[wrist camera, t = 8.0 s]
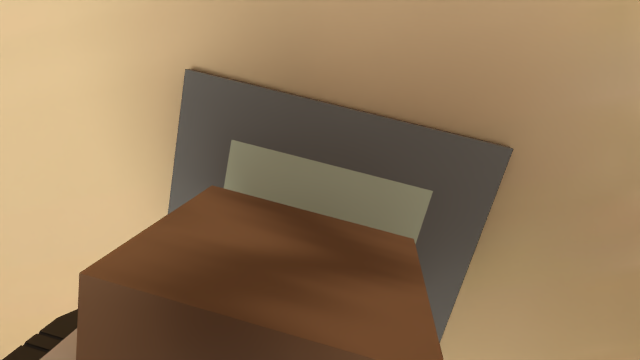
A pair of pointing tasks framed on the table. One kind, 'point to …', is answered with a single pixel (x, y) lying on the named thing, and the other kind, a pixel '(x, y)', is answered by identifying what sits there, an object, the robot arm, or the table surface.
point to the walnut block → (256, 289)
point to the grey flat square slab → (342, 170)
